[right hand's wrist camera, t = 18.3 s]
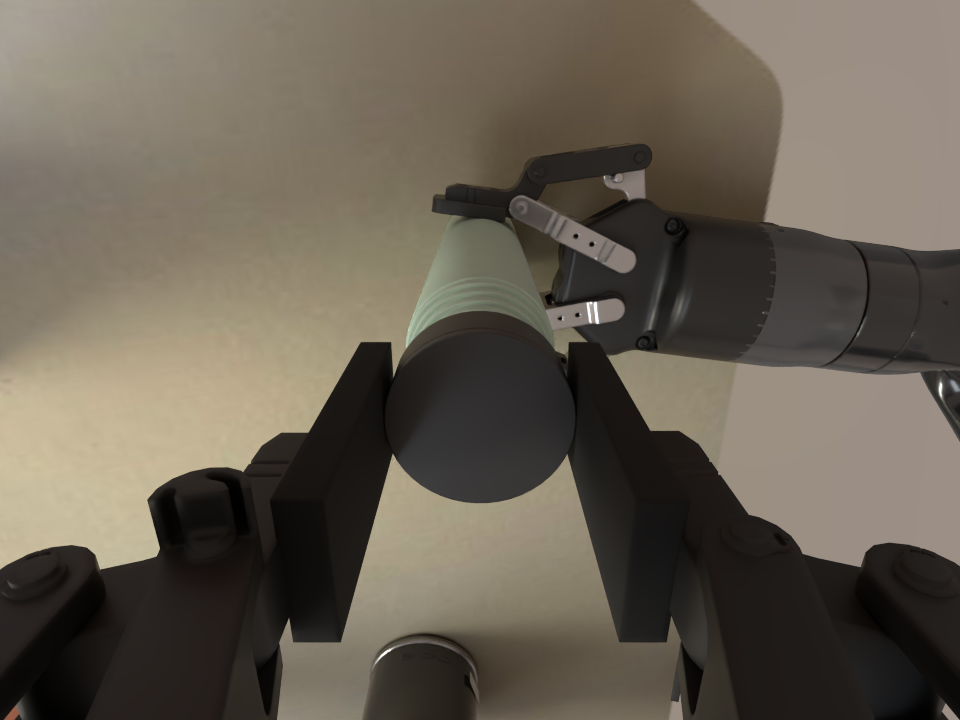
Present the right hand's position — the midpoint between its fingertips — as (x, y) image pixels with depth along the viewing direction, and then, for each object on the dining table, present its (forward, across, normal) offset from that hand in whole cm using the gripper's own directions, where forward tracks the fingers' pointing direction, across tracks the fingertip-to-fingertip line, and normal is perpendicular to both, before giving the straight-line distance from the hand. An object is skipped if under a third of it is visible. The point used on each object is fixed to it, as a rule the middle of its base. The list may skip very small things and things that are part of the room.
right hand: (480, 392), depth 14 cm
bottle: (+23, 0, 0) cm, 23 cm away
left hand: (+16, -3, 0) cm, 17 cm away
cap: (-1, 0, 0) cm, 1 cm away
